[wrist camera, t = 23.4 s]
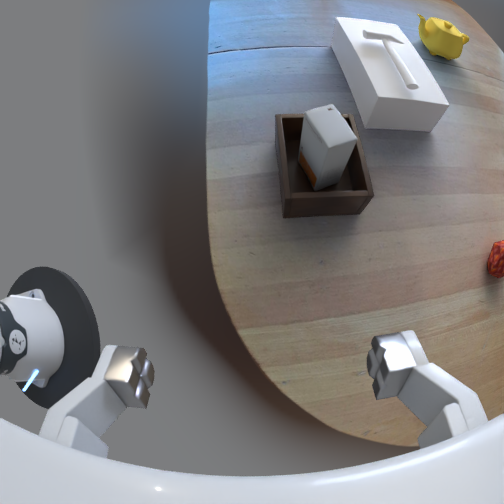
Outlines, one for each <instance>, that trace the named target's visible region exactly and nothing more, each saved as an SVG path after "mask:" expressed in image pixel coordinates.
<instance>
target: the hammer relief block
mask: <svg viewBox="0 0 504 504" xmlns="http://www.w3.org/2000/svg"><path fill="white" fill-rule="evenodd" d="M331 47H332V49H333V51H334V53H335V55H336V58H337V60H338V62H339V64H340V66H341V69H342V71H343V73H344V76H345V78H346V80H347V83H348V85H349V87H350V90H351V92H352V95H353V97H354V100H355V102H356V105H357V108H358V110H359V113H360V116H361V119H362V121H363V124H364V127H365V129H395V130H412V131H425V132H431V131H432V130H433V128H434V127H435V125H436V124H437V123H438V121H439V120H440V118H441V117H442V116H443V114H444V113H445V111H446V110H447V108H448V107H449V103H448V101H447V99H446V98H445V96H444V94H443V92H442V91H441V89H440V87H439V85H438V84H437V82H436V80H435V79H434V77H433V75H432V74H431V72H430V71H429V69H428V68H427V66H426V64H425V63H424V61H423V60H422V58H421V57H420V55H419V54H418V53H417V51H416V50H415V48H414V47H413V45H412V44H411V43H410V41H409V40H408V39H407V37H406V36H405V35H404V33H403V32H402V31H401V29H400V28H399V27H398V26H397V25H395V24H389V23H383V22H377V21H370V20H363V19H354V18H344V17H336V18H335V24H334V31H333V37H332V43H331Z"/></svg>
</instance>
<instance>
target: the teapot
mask: <svg viewBox="0 0 504 504" xmlns="http://www.w3.org/2000/svg"><path fill="white" fill-rule="evenodd" d="M417 15H418V16H419V17H420V24H419V28H418V29H419V36H420V38H421V40H422V42H423V43H424V45H425V46H426V47H427V48H428V49H429V52H430V54H432V55H434V56H436V54H438V55H440V56H443V57H445V58H446V59H448V60H451V59H456V58H458V57H459V56H460V55H461V52H462V48H463V45H464V44H466V43H467V42H468V41H469V37H468V36H467V35H465V34H462V33H460V32H459V31H458V30H457V28H456V27H455V26H454V25H452V24H451V23H450V22H449V21H446V20H445V21H444V20H441V19H438V18H434V17H431V18H429V19H428V20H427V21H425V18H424V17H423V16H421V15H419V14H417ZM463 37H464V38H463Z"/></svg>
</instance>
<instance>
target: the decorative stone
mask: <svg viewBox="0 0 504 504" xmlns="http://www.w3.org/2000/svg"><path fill="white" fill-rule="evenodd" d="M487 266H488V271H489V274H491V275H493V276H495V277H497V278H501V277H504V240H502V241H499V242H495V243H494V244H493V247H492V250H491V253H490V256H489V258H488V262H487Z"/></svg>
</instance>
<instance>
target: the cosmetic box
mask: <svg viewBox="0 0 504 504" xmlns="http://www.w3.org/2000/svg"><path fill="white" fill-rule="evenodd" d="M356 142H357V137H356V136H355V134H354V133H353V131H352V130H351V128H350V127H349V125H348V123H347V122H346V120H345V119H344V118H343V117H342V116H341V114H340V113H339V112H338V110H337V109H336V108H335V106H334V105H333V104H330V105H326V106H323V107H319V108H315V109H312V110H309V111H306V112H305V113H304V120H303V127H302V134H301V141H300V148H299V154H298V162H299V163H300V165H301V167H302V168H303V170H304V172H305V174H306V175H307V177H308V179H309V181H310V183H311V185H312V187H313V189H314V191H318V190H320V189H323V188H325V187H328V186H331V185H333V184H336V183H338V182H339V180H340V178H341V176H342V173H343V171H344V169H345V167H346V164H347V162H348V160H349V157H350V155H351V153H352V151H353V148H354V146H355V144H356Z"/></svg>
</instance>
